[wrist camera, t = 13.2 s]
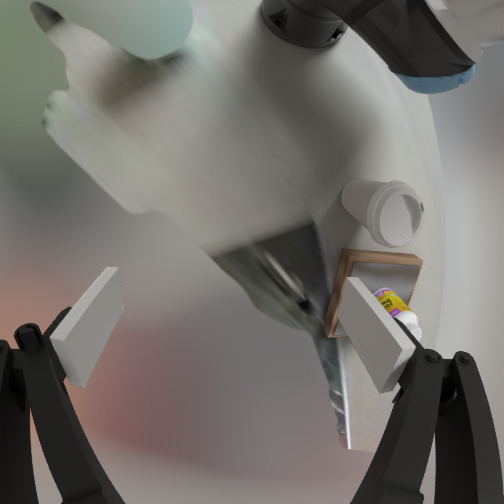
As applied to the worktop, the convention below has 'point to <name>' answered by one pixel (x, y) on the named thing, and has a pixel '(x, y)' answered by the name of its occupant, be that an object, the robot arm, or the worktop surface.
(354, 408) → the worktop surface
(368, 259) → the plinth
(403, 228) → the coffee cup
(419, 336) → the supplement bottle
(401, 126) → the worktop surface
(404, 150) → the worktop surface
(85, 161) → the worktop surface
